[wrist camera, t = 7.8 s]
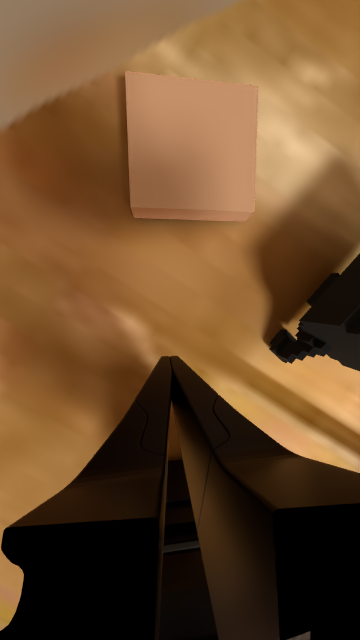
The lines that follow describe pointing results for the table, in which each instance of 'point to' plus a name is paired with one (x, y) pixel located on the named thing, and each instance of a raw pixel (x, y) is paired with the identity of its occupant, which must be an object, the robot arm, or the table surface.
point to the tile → (191, 147)
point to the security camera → (328, 322)
